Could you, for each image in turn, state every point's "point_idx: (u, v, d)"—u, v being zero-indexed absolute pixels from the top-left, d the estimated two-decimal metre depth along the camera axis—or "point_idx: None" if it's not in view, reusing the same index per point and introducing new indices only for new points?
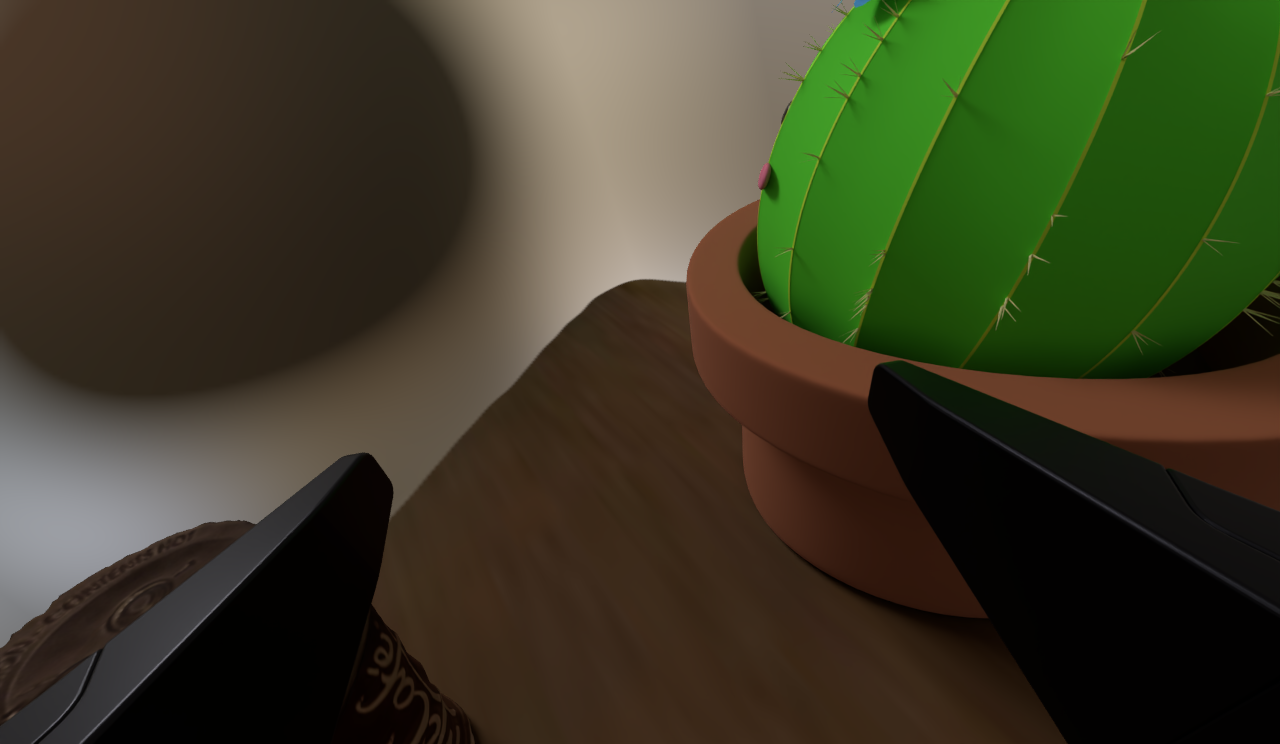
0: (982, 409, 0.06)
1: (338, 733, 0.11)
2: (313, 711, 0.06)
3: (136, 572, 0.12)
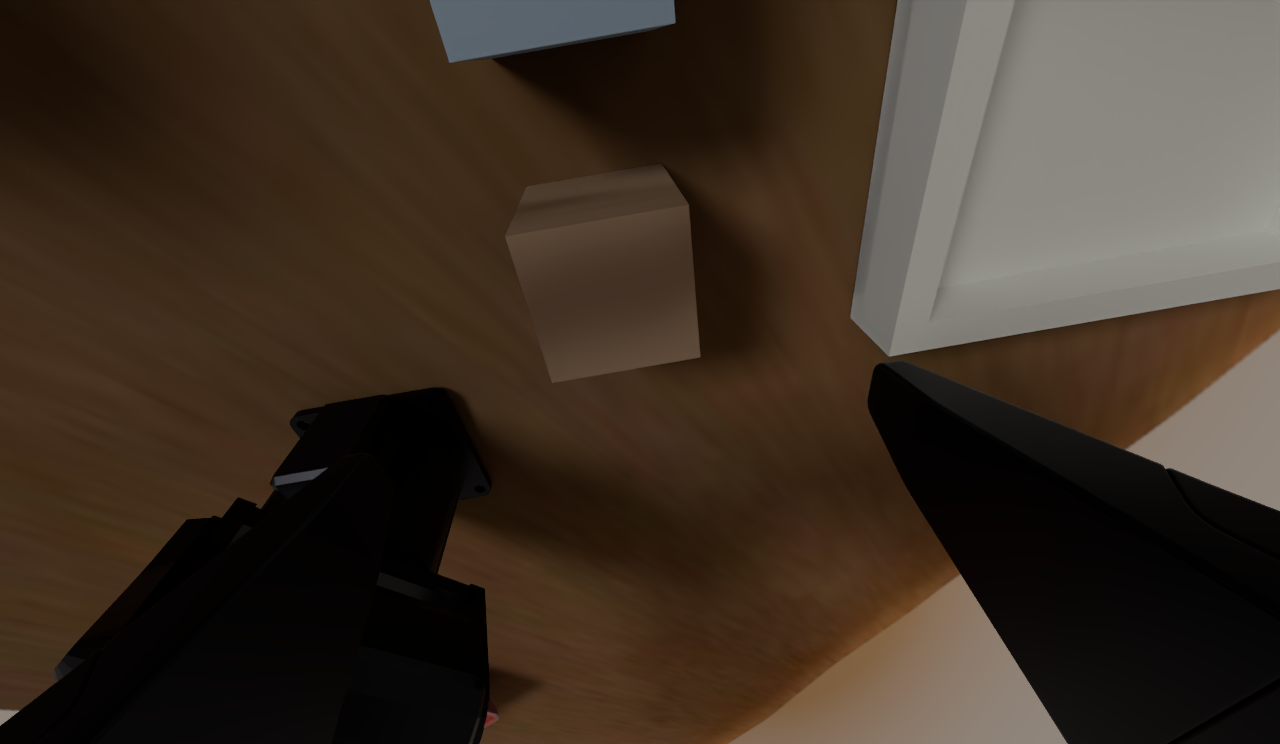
0: (982, 409, 0.06)
1: None
2: (313, 711, 0.06)
3: None
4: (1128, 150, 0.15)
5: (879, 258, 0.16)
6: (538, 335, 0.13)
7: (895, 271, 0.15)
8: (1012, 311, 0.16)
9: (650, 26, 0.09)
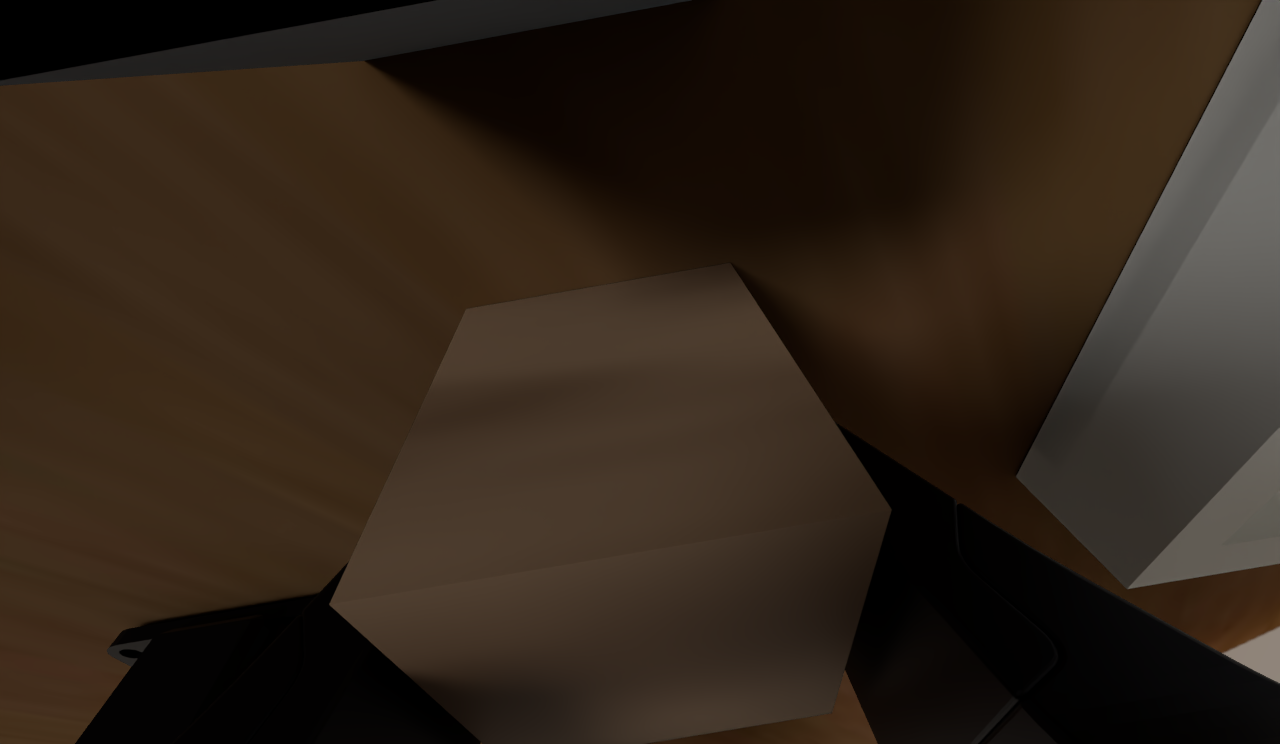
0: None
1: None
2: None
3: None
4: None
5: (1123, 422, 0.09)
6: (466, 725, 0.05)
7: (1178, 464, 0.08)
8: None
9: None
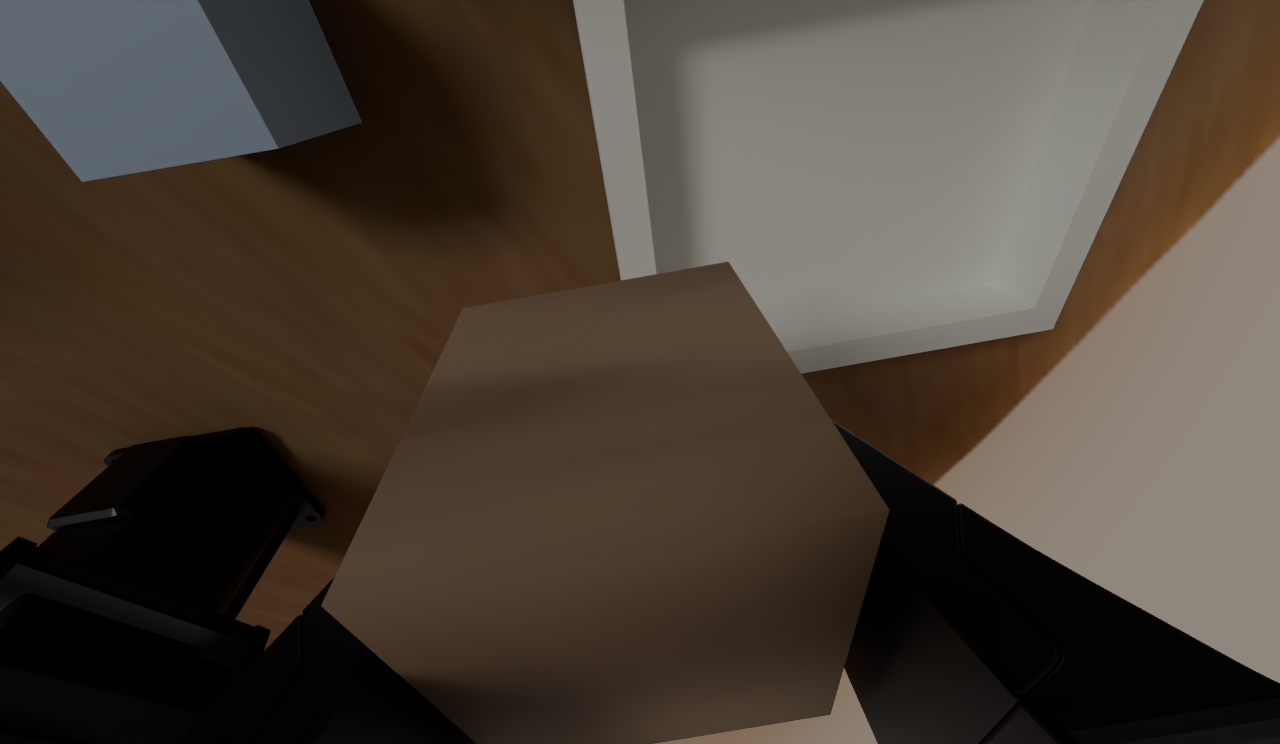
0: None
1: None
2: None
3: None
4: (838, 219, 0.17)
5: None
6: (461, 727, 0.05)
7: None
8: None
9: (257, 151, 0.10)
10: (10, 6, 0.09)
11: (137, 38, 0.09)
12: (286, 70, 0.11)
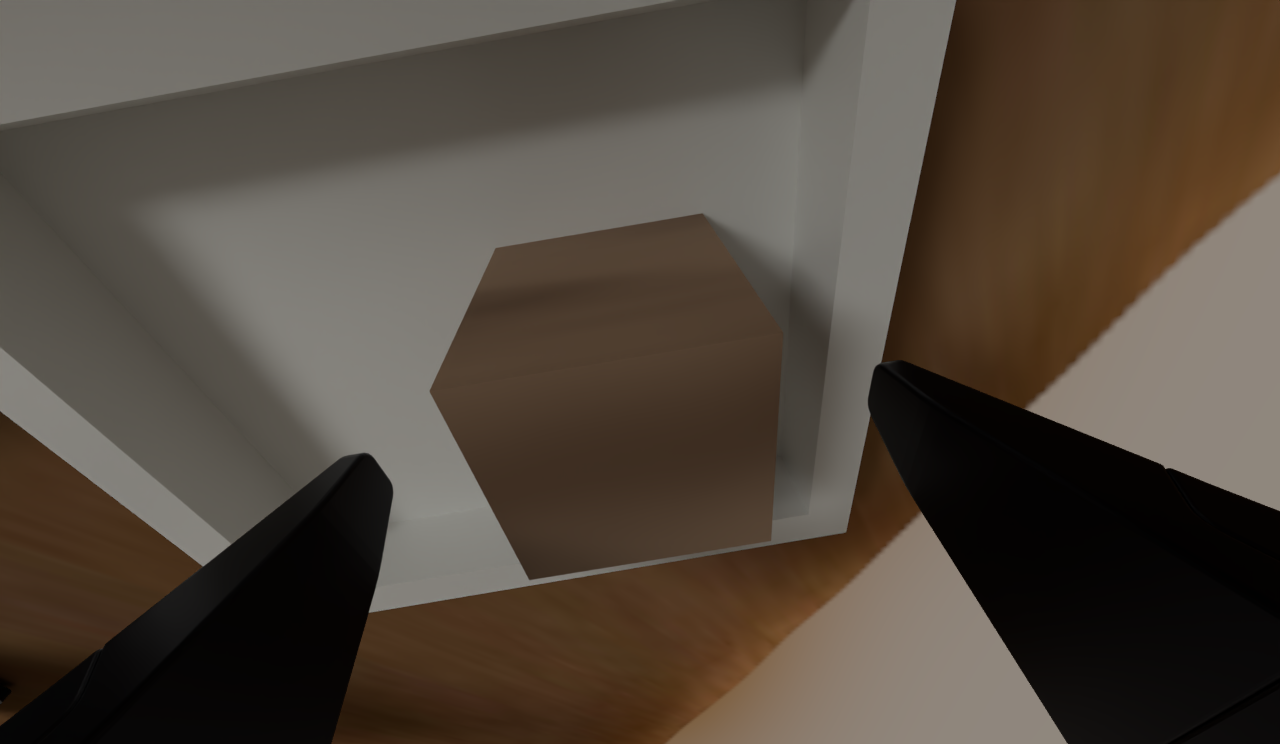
0: (982, 409, 0.06)
1: None
2: (313, 711, 0.06)
3: None
4: None
5: None
6: (503, 525, 0.07)
7: None
8: (407, 584, 0.13)
9: None
10: None
11: None
12: None
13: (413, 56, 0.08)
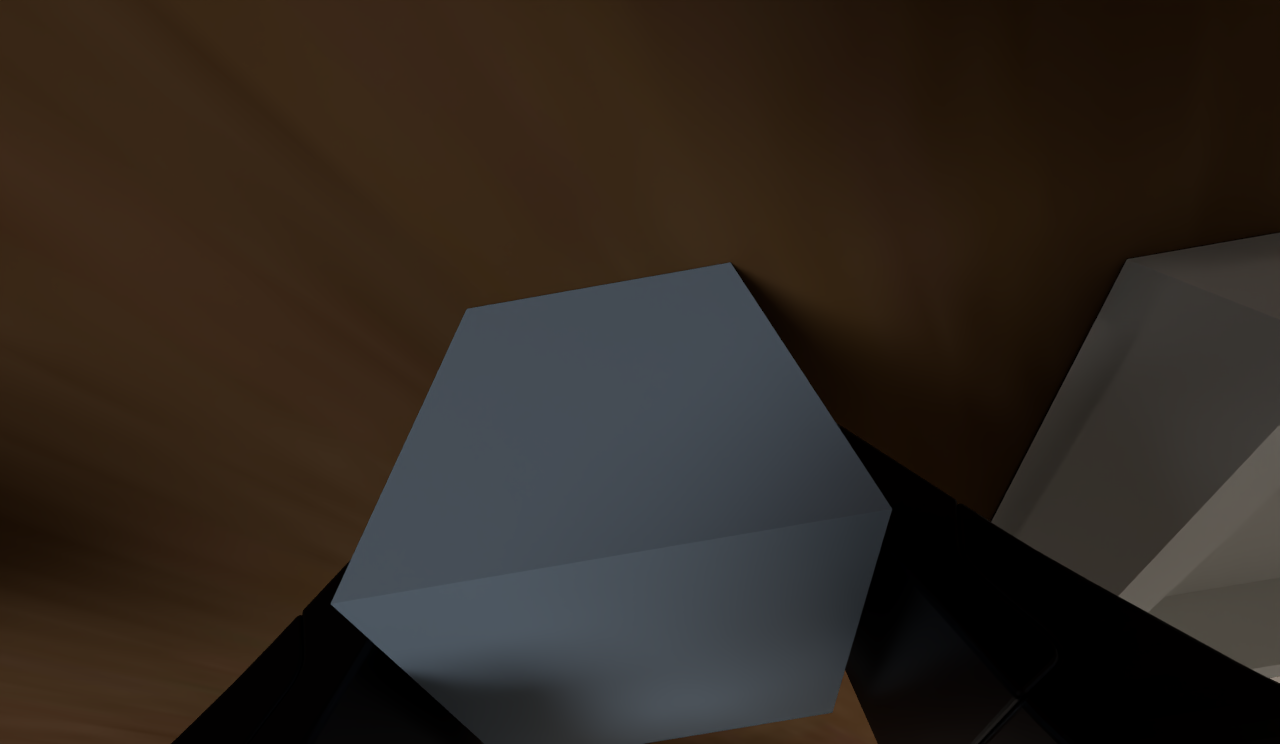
0: None
1: None
2: None
3: None
4: None
5: None
6: None
7: None
8: None
9: (796, 716, 0.06)
10: (532, 663, 0.04)
11: (716, 661, 0.05)
12: None
13: None
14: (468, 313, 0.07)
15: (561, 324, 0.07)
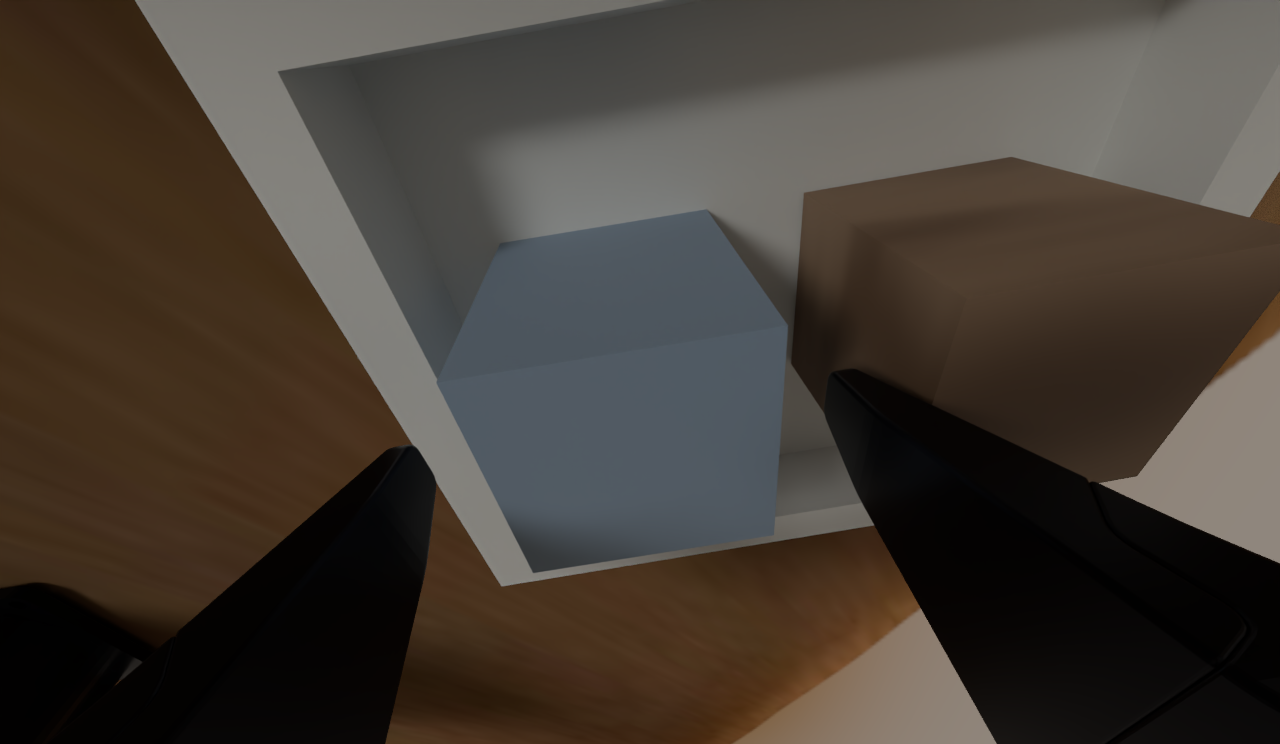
0: (923, 419, 0.06)
1: None
2: (371, 701, 0.06)
3: None
4: None
5: None
6: None
7: None
8: None
9: (747, 537, 0.08)
10: (557, 452, 0.07)
11: (685, 465, 0.07)
12: None
13: None
14: (502, 245, 0.10)
15: (576, 249, 0.09)
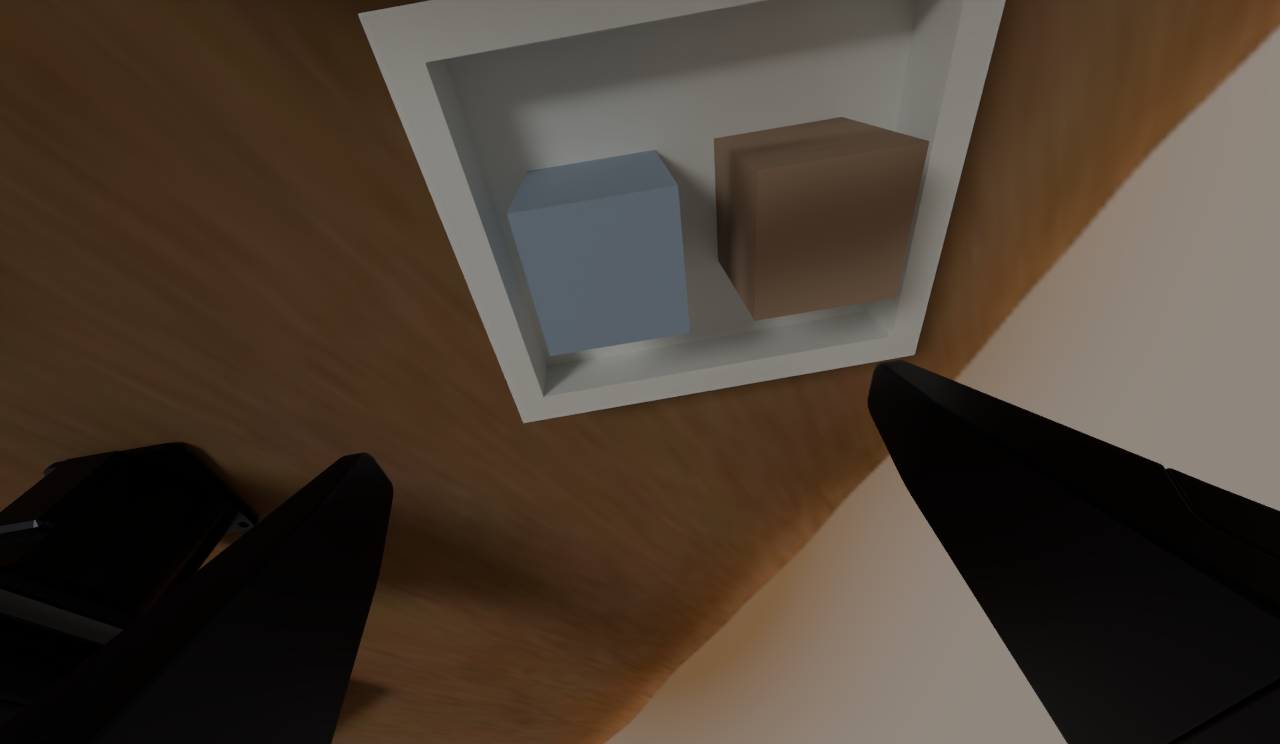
0: (982, 409, 0.06)
1: None
2: (313, 711, 0.06)
3: None
4: (699, 253, 0.18)
5: None
6: (757, 271, 0.13)
7: None
8: (617, 386, 0.19)
9: (674, 334, 0.14)
10: (565, 261, 0.13)
11: (633, 275, 0.13)
12: None
13: (700, 14, 0.14)
14: (528, 171, 0.16)
15: (574, 170, 0.15)
